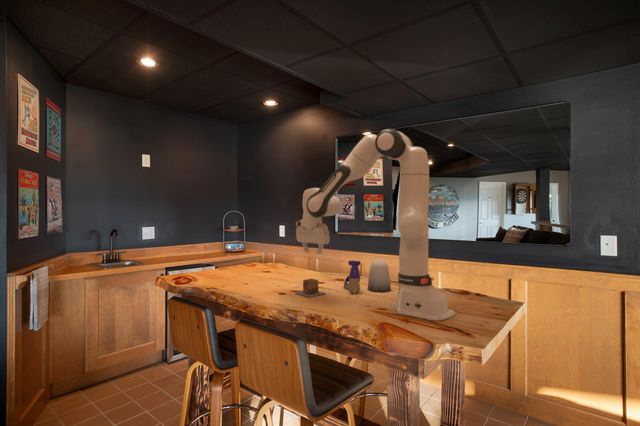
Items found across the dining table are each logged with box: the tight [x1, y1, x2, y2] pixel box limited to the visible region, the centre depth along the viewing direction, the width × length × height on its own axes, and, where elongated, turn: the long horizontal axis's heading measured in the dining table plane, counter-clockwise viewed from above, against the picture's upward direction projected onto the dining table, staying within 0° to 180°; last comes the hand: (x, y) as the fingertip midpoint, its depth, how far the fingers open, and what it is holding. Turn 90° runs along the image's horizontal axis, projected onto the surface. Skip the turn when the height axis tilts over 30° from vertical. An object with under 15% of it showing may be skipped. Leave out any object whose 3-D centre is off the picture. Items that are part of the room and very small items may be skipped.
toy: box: [367, 258, 392, 293], centre depth 177 cm, size 11×11×15 cm
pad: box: [295, 290, 327, 299], centre depth 168 cm, size 10×10×1 cm
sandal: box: [343, 260, 361, 295], centre depth 177 cm, size 8×20×15 cm, turn 175°
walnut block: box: [302, 278, 319, 295], centre depth 168 cm, size 5×5×6 cm
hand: (312, 252), depth 168 cm, fingers open, 8 cm apart
